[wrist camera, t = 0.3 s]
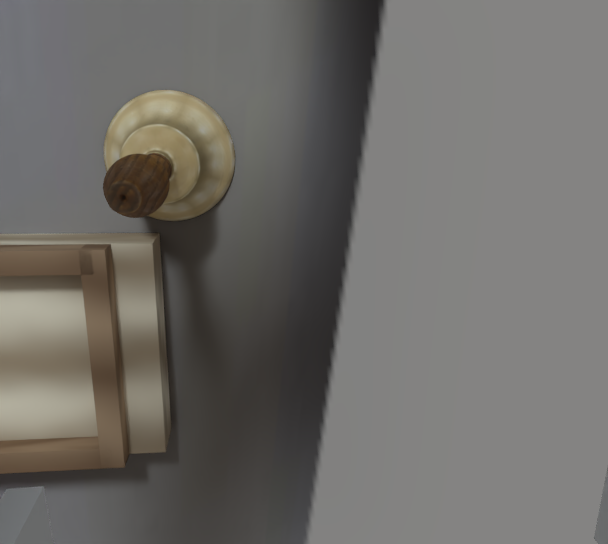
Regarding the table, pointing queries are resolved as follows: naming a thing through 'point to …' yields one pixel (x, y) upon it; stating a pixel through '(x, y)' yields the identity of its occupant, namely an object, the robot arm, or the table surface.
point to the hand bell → (167, 157)
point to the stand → (81, 351)
